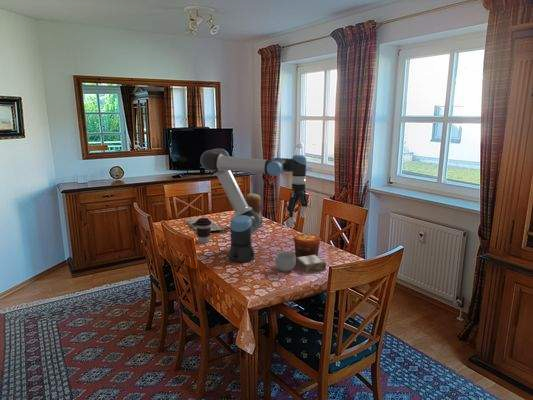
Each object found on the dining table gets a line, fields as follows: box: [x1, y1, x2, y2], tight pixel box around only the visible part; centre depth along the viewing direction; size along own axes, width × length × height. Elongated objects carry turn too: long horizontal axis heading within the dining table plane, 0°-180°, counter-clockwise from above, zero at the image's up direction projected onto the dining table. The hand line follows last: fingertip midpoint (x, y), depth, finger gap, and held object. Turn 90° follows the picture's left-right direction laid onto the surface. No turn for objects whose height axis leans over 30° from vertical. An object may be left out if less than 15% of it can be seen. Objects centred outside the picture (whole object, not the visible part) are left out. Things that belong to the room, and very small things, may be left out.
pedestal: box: [295, 255, 327, 274], centre depth 196 cm, size 12×12×4 cm
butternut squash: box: [244, 192, 264, 226], centre depth 264 cm, size 14×13×25 cm
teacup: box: [274, 250, 297, 273], centre depth 194 cm, size 14×11×8 cm
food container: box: [292, 233, 322, 257], centre depth 213 cm, size 16×16×11 cm
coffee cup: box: [195, 217, 212, 244], centre depth 235 cm, size 10×10×15 cm
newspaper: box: [185, 216, 226, 233], centre depth 270 cm, size 37×19×3 cm, turn 27°
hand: (297, 219), depth 210 cm, fingers open, 13 cm apart
